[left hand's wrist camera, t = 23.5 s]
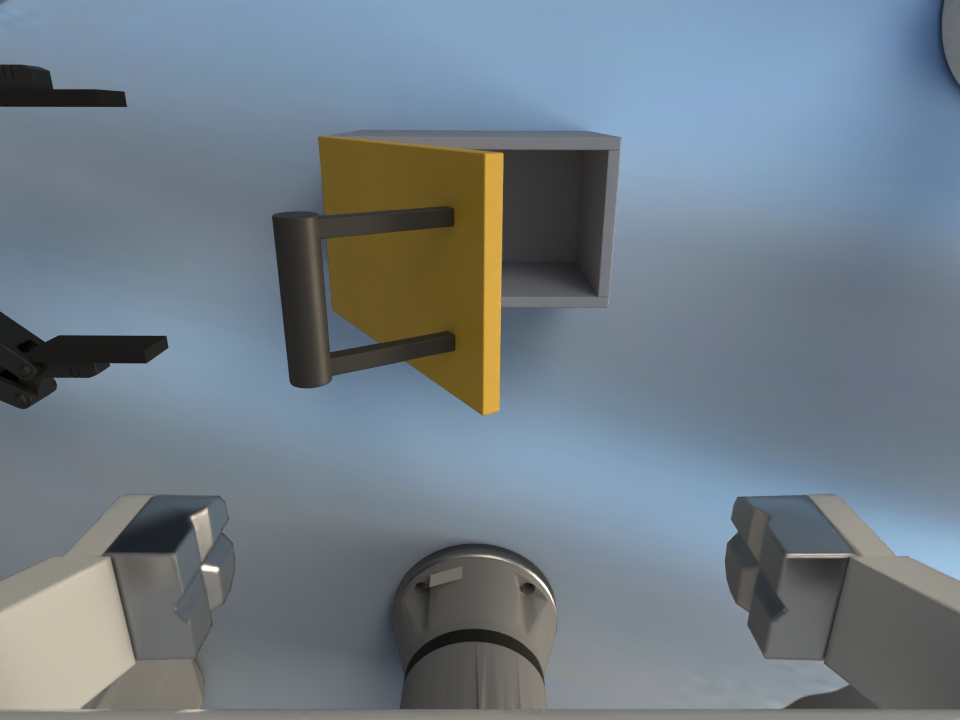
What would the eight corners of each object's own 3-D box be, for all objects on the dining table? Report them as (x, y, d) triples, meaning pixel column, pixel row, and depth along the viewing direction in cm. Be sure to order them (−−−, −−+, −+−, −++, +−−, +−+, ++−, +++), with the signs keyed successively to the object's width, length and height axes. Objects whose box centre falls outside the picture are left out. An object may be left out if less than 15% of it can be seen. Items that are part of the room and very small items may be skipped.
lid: (504, 152, 23) (288, 159, 19) (499, 411, 26) (317, 460, 23) (332, 136, 37) (186, 138, 33) (344, 308, 40) (214, 327, 36)
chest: (591, 131, 47) (621, 137, 37) (582, 268, 51) (608, 308, 40) (359, 130, 47) (326, 135, 37) (367, 267, 51) (339, 307, 40)
